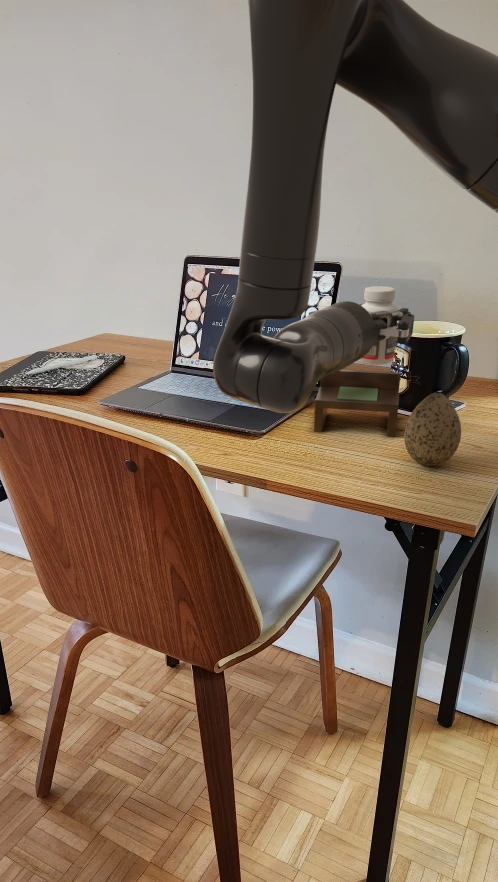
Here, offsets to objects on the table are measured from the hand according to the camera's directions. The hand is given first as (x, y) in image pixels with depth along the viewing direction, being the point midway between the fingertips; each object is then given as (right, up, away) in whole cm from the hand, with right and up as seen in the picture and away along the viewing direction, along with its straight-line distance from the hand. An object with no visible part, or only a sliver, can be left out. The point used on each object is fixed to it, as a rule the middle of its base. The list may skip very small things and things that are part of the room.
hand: (384, 313), depth 95 cm
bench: (-2, -14, +11) cm, 18 cm away
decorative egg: (+5, -21, -2) cm, 22 cm away
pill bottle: (-1, -7, +1) cm, 7 cm away
